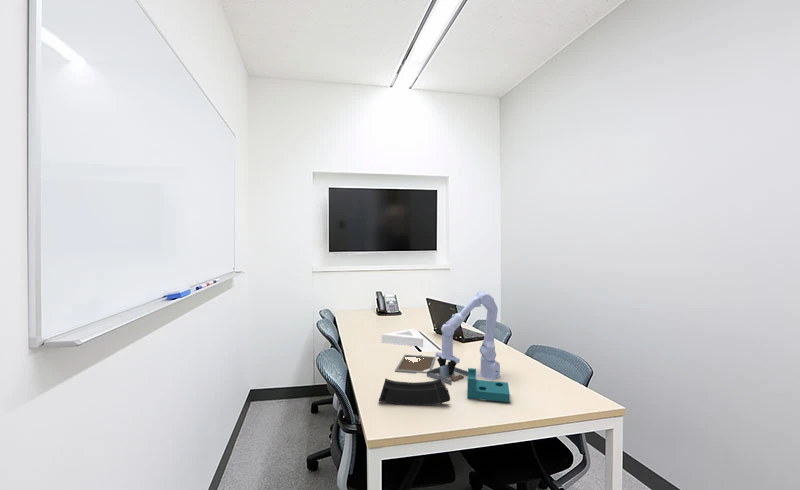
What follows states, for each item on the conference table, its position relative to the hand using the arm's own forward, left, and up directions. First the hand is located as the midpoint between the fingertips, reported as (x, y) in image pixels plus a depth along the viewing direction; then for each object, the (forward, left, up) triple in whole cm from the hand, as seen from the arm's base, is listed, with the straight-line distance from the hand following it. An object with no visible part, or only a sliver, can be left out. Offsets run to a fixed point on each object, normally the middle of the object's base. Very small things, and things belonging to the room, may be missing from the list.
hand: (447, 373), depth 186 cm
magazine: (-11, +35, -2) cm, 37 cm away
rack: (-1, 0, -2) cm, 2 cm away
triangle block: (+57, -29, -2) cm, 64 cm away
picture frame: (+24, -2, -2) cm, 24 cm away
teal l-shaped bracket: (-28, +5, -2) cm, 29 cm away
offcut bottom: (-7, 0, -2) cm, 7 cm away
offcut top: (-7, 0, -1) cm, 7 cm away
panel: (0, 0, -2) cm, 2 cm away
